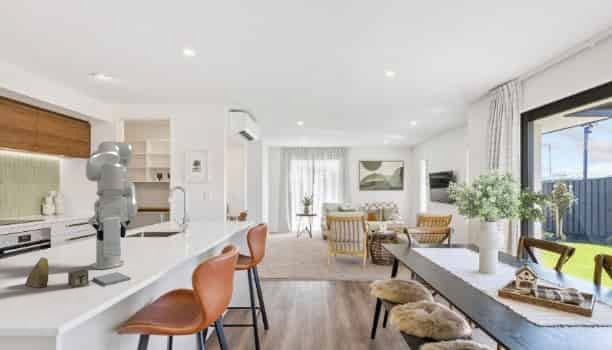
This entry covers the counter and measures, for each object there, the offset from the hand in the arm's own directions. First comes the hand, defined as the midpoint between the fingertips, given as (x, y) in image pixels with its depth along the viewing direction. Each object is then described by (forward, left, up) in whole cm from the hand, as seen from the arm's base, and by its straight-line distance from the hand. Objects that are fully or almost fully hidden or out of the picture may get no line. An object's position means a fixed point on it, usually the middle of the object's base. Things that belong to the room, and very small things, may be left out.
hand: (111, 238), depth 127 cm
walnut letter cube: (-5, -10, -16) cm, 20 cm away
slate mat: (0, 0, -16) cm, 16 cm away
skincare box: (0, 0, -6) cm, 7 cm away
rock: (-16, -20, -17) cm, 30 cm away
